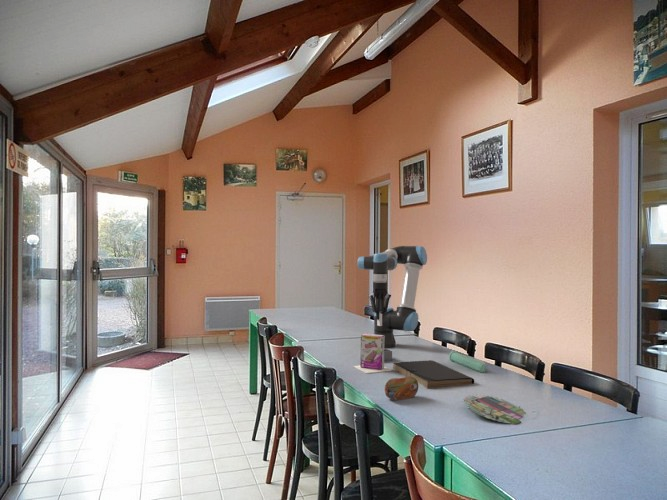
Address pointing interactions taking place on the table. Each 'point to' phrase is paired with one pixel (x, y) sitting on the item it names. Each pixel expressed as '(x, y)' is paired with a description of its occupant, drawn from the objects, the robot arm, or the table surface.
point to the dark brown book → (432, 374)
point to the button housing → (387, 355)
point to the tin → (401, 388)
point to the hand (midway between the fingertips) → (379, 325)
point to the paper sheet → (368, 370)
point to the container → (467, 361)
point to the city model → (494, 408)
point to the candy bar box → (372, 351)
